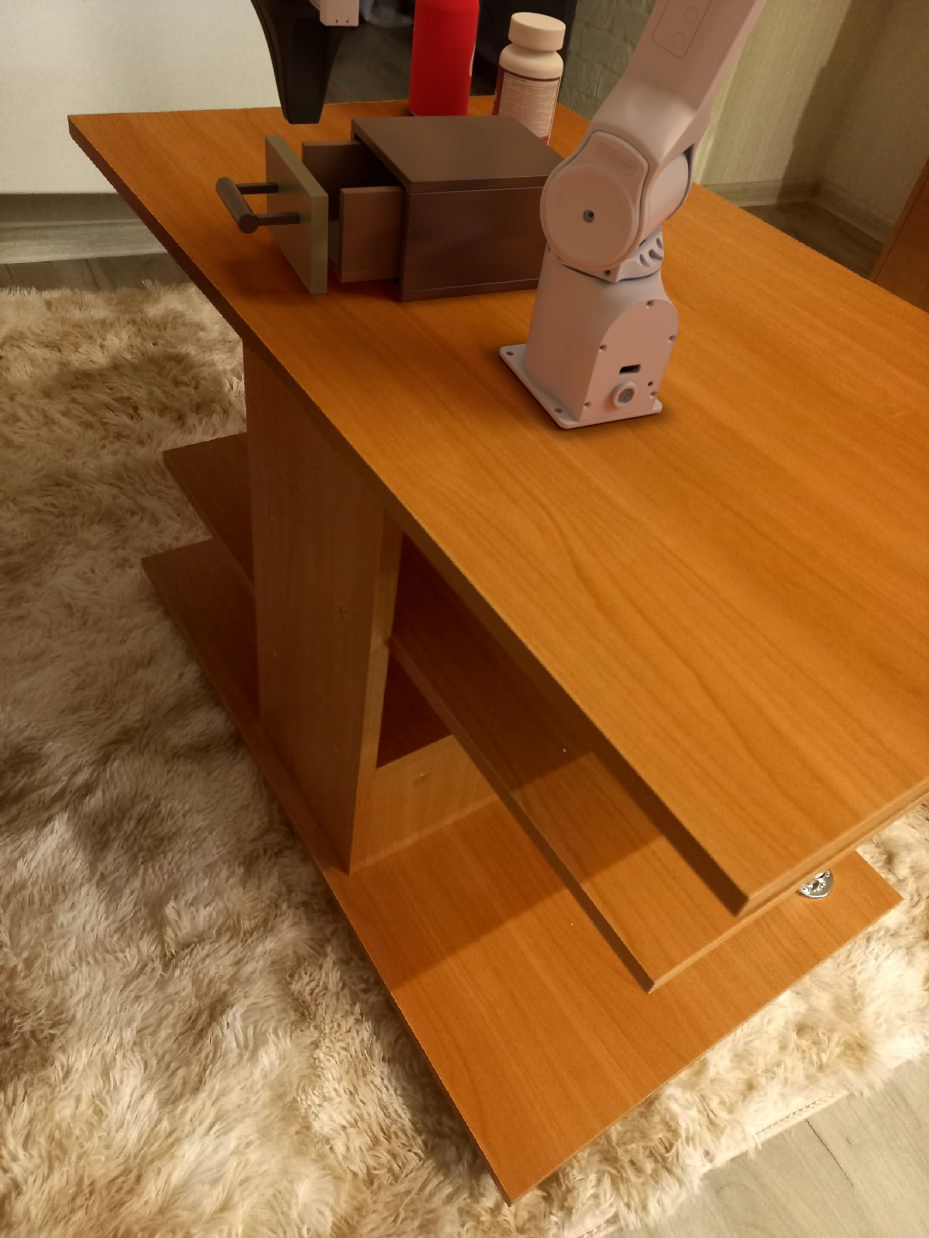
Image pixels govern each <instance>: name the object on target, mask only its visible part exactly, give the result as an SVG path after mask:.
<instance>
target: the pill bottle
mask: <svg viewBox="0 0 929 1238" xmlns="http://www.w3.org/2000/svg"><path fill="white" fill-rule="evenodd" d="M509 23H510V24H509V29H508V35H507V37H508V40H509V41H510V42H512V43H510V44H508V45H506V46H505V47H504V48H503V49H502V50H501V53H500V55H499V59H498V61H499V62H498V65H497V66H498V67H497V75H496V83H495V90H494V96H493V104H492V110H491V115H512V116H513V117H514V118H515V119H516V120H518V121H519V122H520V123H521V124H523V125H524V126H525V127H526V128H528V129H529V130H530V131H531V132H532V133H534V134H535V135H536V136H537V137H539V138H540V139H541V140H542V141H544V142H545V143H546V144H547V145H548V146H550V144H549V143H550V140H551V134H552V129H553V123H554V117H555V111H556V108H557V102H558V97H559V91H560V86H561V81H562V77H563V72H564V62H563V59H562V57H561V55H560V54H559V53H558V52H557V51H560V50H561V49H562V48H563V45H564V38H565V33H566V24H565V23H564V22H563V21H562V20H560V19H557V18H556V17H555V18H554V17H553V16H549V15H545V14H541V13H535V12H525V11H523V12H515V13H513V14H512V15H511V18H510V22H509Z"/></svg>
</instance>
